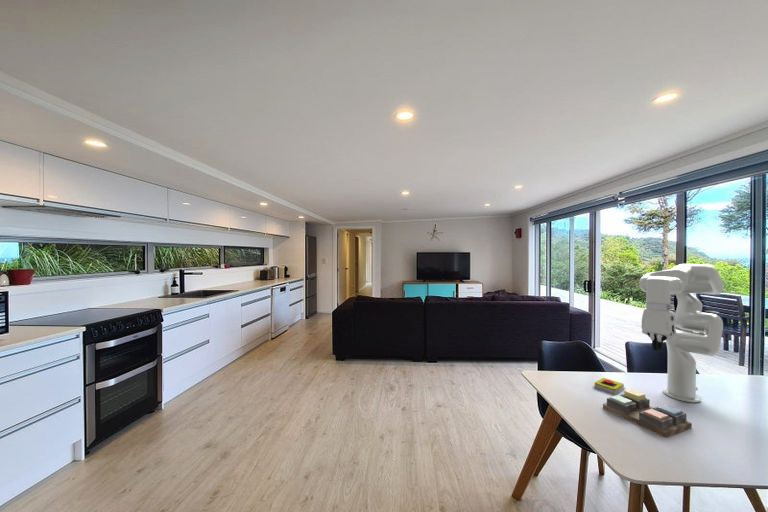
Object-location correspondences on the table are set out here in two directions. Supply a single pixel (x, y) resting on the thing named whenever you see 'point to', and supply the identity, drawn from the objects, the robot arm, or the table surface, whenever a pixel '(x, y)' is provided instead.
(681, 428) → the console
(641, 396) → the mustard button
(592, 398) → the table surface
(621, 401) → the sage button
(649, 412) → the terracotta button
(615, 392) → the emergency button
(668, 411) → the slate button
